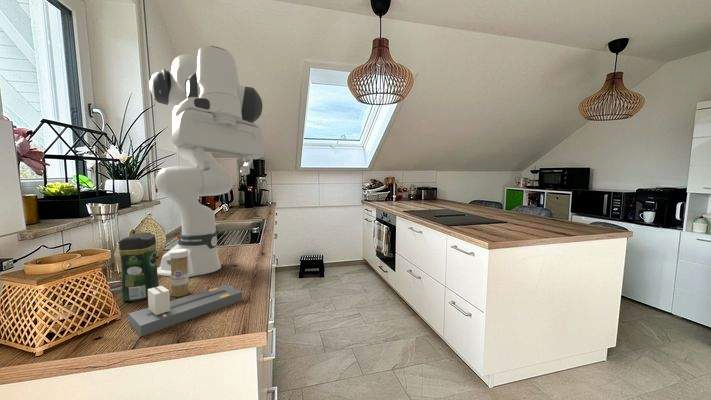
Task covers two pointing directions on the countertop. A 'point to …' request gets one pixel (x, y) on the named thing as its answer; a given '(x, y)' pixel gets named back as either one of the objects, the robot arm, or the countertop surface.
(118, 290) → the countertop surface
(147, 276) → the coffee jar
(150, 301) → the fader tab
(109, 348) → the countertop surface
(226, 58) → the robot arm
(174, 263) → the sprinkles bottle
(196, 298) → the slider console
